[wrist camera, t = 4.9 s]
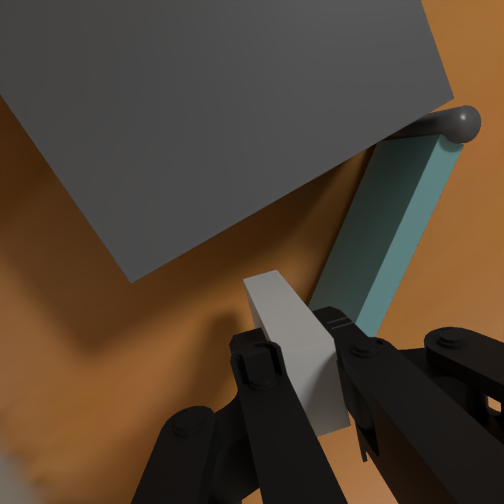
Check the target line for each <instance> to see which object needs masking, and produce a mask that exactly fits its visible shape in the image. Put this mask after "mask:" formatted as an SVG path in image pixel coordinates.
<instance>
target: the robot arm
mask: <svg viewBox="0 0 504 504" xmlns="http://www.w3.org/2000/svg"><path fill="white" fill-rule="evenodd" d="M243 282H244V286H245V290H246V294H247V297H248V301H249V305H250V309H251V313H252V317H253V321H254V325H255V329H254V330H250V331H247V332H243V333H240V334H237V335H234V336H233V338H232V340H231V342H230V344H229V345H230V349H231V354H232V356H231V361H230V363H231V366H232V370H233V373H234V377H235V380H236V384H237V387H238V392H237V395H236V396H235V398H234V399H233V400H232V401H231V402H230V403H229V404H228V405H227V406H225V407H224V408H222V409H221V410H219V411H217V412H215V413H214V412H213V411H212V410H211V408H208V407H205V406H193V407H189V408H186V409H183V410H181V411H179V412H178V413H176V414H174V415H173V416H172V417H171V418H170V419H169V420H167V421H166V423H165V424H164V426H163V428H162V429H161V432H160V434H159V436H158V439H157V441H156V444H155V446H154V449H153V451H152V453H151V456H150V458H149V461H148V463H147V466H146V468H145V470H144V473H143V475H142V478H141V480H140V483H139V485H138V487H137V490H136V492H135V495H134V497H133V500H132V502H131V504H242V500H243V499H244V498H245V497H247V496H248V495H250V494H251V493H253V492H254V491H255V490H257V489H258V488H260V492H261V496H262V501H263V504H348V503H347V501H346V498H345V496H344V494H343V492H342V490H341V488H340V486H339V484H338V481H337V479H336V477H335V475H334V473H333V471H332V469H331V466H330V464H329V462H328V460H327V458H326V456H325V454H324V452H323V449H322V447H321V445H320V443H319V441H318V439H317V437H318V436H321V435H324V434H327V433H330V432H333V431H336V430H339V429H342V428H345V427H348V426H351V424H350V419H349V414H348V411H349V412H350V414H351V416H352V417H353V419H354V420H355V425H356V430H357V435H358V441H359V446H360V451H361V456H362V459H363V462H366V461H367V456H366V451H367V453H368V454H369V456H370V458H371V459H372V461H373V463H374V464H375V466H376V467H377V469H378V471H379V472H380V474H381V476H382V477H383V479H384V481H385V482H386V484H387V485H388V487H389V489H390V490H391V492H392V494H393V495H394V497H395V499H396V500H397V502H398V503H399V504H504V343H503V342H500V341H498V340H495V339H493V338H490V337H487V336H485V335H482V334H479V333H477V332H474V331H471V330H468V329H464V328H457V327H446V328H445V327H443V328H439V329H436V330H433V331H431V332H429V333H428V334H427V335H426V336H425V338H424V346H425V348H417V349H407V350H397V349H396V348H395V347H394V346H393V345H392V344H391V343H389V342H388V341H386V340H384V339H381V338H377V337H368V336H367V335H366V334H365V333H364V332H363V331H362V330H361V329H360V328H359V327H358V326H357V325H356V324H355V323H353V322H352V320H350V319H349V318H347V316H346V315H345V314H344V313H343V312H342V311H341V310H339V309H337V308H334V307H331V306H328V307H324V308H321V309H318V310H314V311H310V310H309V308H308V307H307V306H306V305H305V303H304V302H303V301H302V300H301V299H300V297H299V296H298V295H297V294H296V293H295V291H294V290H293V289H292V288H291V286H290V285H289V284H288V283H287V282H286V280H285V279H284V278H283V277H282V275H281V274H280V273H279V272H278V271H277V270H274V271H270V272H267V273H263V274H260V275H256V276H252V277H249V278H245V279H243ZM488 396H489V397H491V398H493V399H494V400H496V401H498V402H500V403H501V412H499V411H496V410H494V409H492V408H490V407H489V406H488Z"/></svg>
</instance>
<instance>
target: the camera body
mask: <svg viewBox="0 0 504 504" xmlns="http://www.w3.org/2000/svg"><path fill="white" fill-rule="evenodd" d="M0 95H1V96H2V98H3V99H4V101H5V102H6V104H7V105H8V107H9V108H10V109H11V111H12V112H13V114H14V115H15V117H16V118H17V120H18V121H19V122H20V124H21V125H22V127H23V128H24V130H25V131H26V133H27V134H28V135H29V137H30V138H31V140H32V141H33V143H34V144H35V146H36V147H37V148H38V150H39V151H40V153H41V154H42V156H43V157H44V159H45V160H46V162H47V163H48V164H49V166H50V167H51V169H52V170H53V172H54V173H55V175H56V176H57V177H58V179H59V180H60V182H61V183H62V185H63V186H64V188H65V189H66V190H67V192H68V193H69V195H70V196H71V198H72V199H73V201H74V202H75V203H76V205H77V206H78V208H79V209H80V211H81V212H82V214H83V215H84V216H85V218H86V219H87V221H88V222H89V224H90V225H91V227H92V228H93V229H94V231H95V232H96V234H97V235H98V237H99V238H100V240H101V241H102V242H103V244H104V245H105V247H106V248H107V250H108V251H109V253H110V254H111V255H112V257H113V258H114V260H115V261H116V263H117V264H118V266H119V267H120V268H121V270H122V271H123V273H124V274H125V276H126V277H127V279H128V280H129V281H130V283H131V284H132V283H133V282H135V281H137V280H139V279H140V278H142V277H144V276H146V275H147V274H149V273H151V272H152V271H154V270H156V269H158V268H159V267H161V266H163V265H165V264H166V263H168V262H170V261H172V260H173V259H175V258H177V257H179V256H180V255H182V254H184V253H186V252H187V251H189V250H191V249H193V248H194V247H196V246H198V245H200V244H201V243H203V242H205V241H206V240H208V239H210V238H212V237H213V236H215V235H217V234H219V233H220V232H222V231H224V230H226V229H227V228H229V227H231V226H233V225H234V224H236V223H238V222H240V221H241V220H243V219H245V218H247V217H248V216H250V215H252V214H254V213H255V212H257V211H259V210H261V209H262V208H264V207H266V206H267V205H269V204H271V203H273V202H274V201H276V200H278V199H280V198H281V197H283V196H285V195H287V194H288V193H290V192H292V191H294V190H295V189H297V188H299V187H301V186H302V185H304V184H306V183H308V182H309V181H311V180H313V179H315V178H316V177H318V176H320V175H321V174H323V173H325V172H327V171H328V170H330V169H332V168H334V167H335V166H337V165H339V164H341V163H342V162H344V161H346V160H348V159H349V158H351V157H353V156H355V155H356V154H358V153H360V152H362V151H363V150H365V149H367V148H369V147H370V146H372V145H374V144H376V143H377V142H379V141H381V140H382V139H384V138H386V137H388V136H389V135H391V134H393V133H395V132H396V131H398V130H400V129H402V128H403V127H405V126H407V125H409V124H410V123H412V122H414V121H416V120H417V119H419V118H421V117H423V116H424V115H426V114H428V113H430V112H431V111H433V110H435V109H436V108H438V107H440V106H442V105H443V104H445V103H447V102H449V101H450V100H452V99H454V96H453V93H452V91H451V88H450V85H449V82H448V79H447V76H446V73H445V70H444V67H443V64H442V62H441V59H440V56H439V53H438V50H437V47H436V44H435V41H434V38H433V35H432V33H431V30H430V27H429V24H428V21H427V18H426V15H425V12H424V9H423V6H422V3H421V1H420V0H0Z"/></svg>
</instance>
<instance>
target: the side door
mask: <svg viewBox="0 0 504 504" xmlns="http://www.w3.org/2000/svg"><path fill="white" fill-rule="evenodd" d="M480 127H481V117H480V114H479V112H478V111H477V110H476V109H475V108H474V107H472V106H461V107H457V108H452V109H447V110H442V111H438V112H433V113H428V114H426V115H424V116H423V117H421V118H419V119H417V120H416V121H414V122H412V123H410V124H409V125H407V126H405V127H403V128H402V129H400V130H398V131H396V132H395V133H393V134H391V135H389V136H388V137H386V138H384V139H382V140H381V141H379V142H377V145H376V147H375V149H374V152H373V154H372V156H371V159H370V161H369V164H368V166H367V168H366V171H365V173H364V175H363V178H362V180H361V182H360V185H359V187H358V189H357V192H356V194H355V196H354V199H353V201H352V204H351V206H350V208H349V211H348V213H347V215H346V218H345V220H344V222H343V225H342V227H341V229H340V232H339V234H338V236H337V239H336V241H335V243H334V246H333V248H332V251H331V253H330V255H329V258H328V260H327V262H326V265H325V267H324V269H323V272H322V274H321V276H320V279H319V281H318V283H317V286H316V288H315V291H314V293H313V295H312V298H311V300H310V302H309V305H308V308H309V310H310V311H314V310H318V309H321V308H324V307H328V306H331V307H334V308H337V309H339V310H341V311H342V312H343V313H344V314H345V315H346V316H347V318H349V319H350V320H352V322H353V323H355V324H356V325H357V326H358V327H359V328H360V329H361V330H362V331H363V332H364V333H365V334H366V335H367V336H368V337H375V336H376V334H377V331H378V329H379V327H380V325H381V323H382V321H383V318H384V316H385V314H386V312H387V310H388V308H389V306H390V303H391V301H392V299H393V297H394V295H395V293H396V290H397V288H398V286H399V284H400V282H401V280H402V277H403V275H404V273H405V271H406V269H407V267H408V264H409V262H410V260H411V258H412V256H413V254H414V252H415V249H416V247H417V245H418V243H419V241H420V239H421V236H422V234H423V232H424V230H425V228H426V226H427V223H428V221H429V219H430V217H431V215H432V213H433V211H434V208H435V206H436V204H437V202H438V200H439V198H440V195H441V193H442V191H443V189H444V187H445V185H446V182H447V180H448V178H449V176H450V174H451V172H452V169H453V167H454V165H455V163H456V161H457V159H458V157H459V154H460V152H461V150H462V148H463V146H464V145H463V144H461V143H467V142H469V141H471V140H473V139H474V138H475V137H476V135H477V134H478V132H479V130H480ZM330 433H331V432H330ZM330 433H327V434H330Z"/></svg>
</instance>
